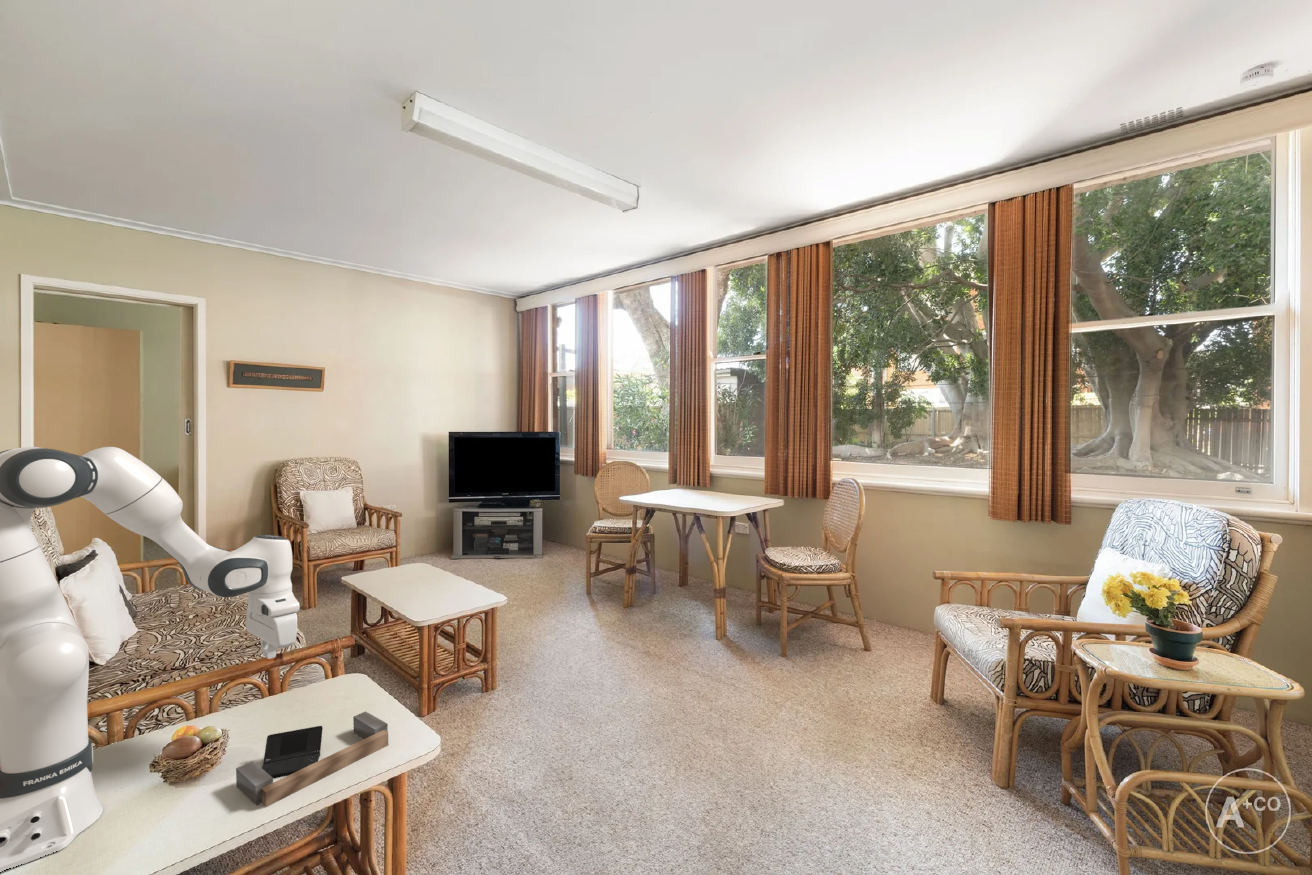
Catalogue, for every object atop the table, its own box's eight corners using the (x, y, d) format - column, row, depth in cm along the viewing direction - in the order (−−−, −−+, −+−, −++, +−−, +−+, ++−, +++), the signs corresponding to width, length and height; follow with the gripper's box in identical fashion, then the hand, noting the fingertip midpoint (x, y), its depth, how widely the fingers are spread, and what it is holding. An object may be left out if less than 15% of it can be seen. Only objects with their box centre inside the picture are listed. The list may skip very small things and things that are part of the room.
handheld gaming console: (255, 780, 114) (264, 727, 120) (255, 786, 119) (264, 735, 125) (319, 770, 120) (325, 720, 126) (317, 776, 125) (323, 728, 130)
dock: (260, 809, 108) (259, 789, 108) (236, 786, 115) (236, 768, 114) (392, 742, 130) (392, 726, 130) (365, 726, 137) (365, 711, 137)
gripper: (238, 595, 138) (237, 650, 138) (273, 611, 126) (271, 671, 127) (267, 590, 143) (266, 643, 143) (303, 605, 132) (302, 662, 132)
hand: (269, 656), depth 135 cm, fingers closed
